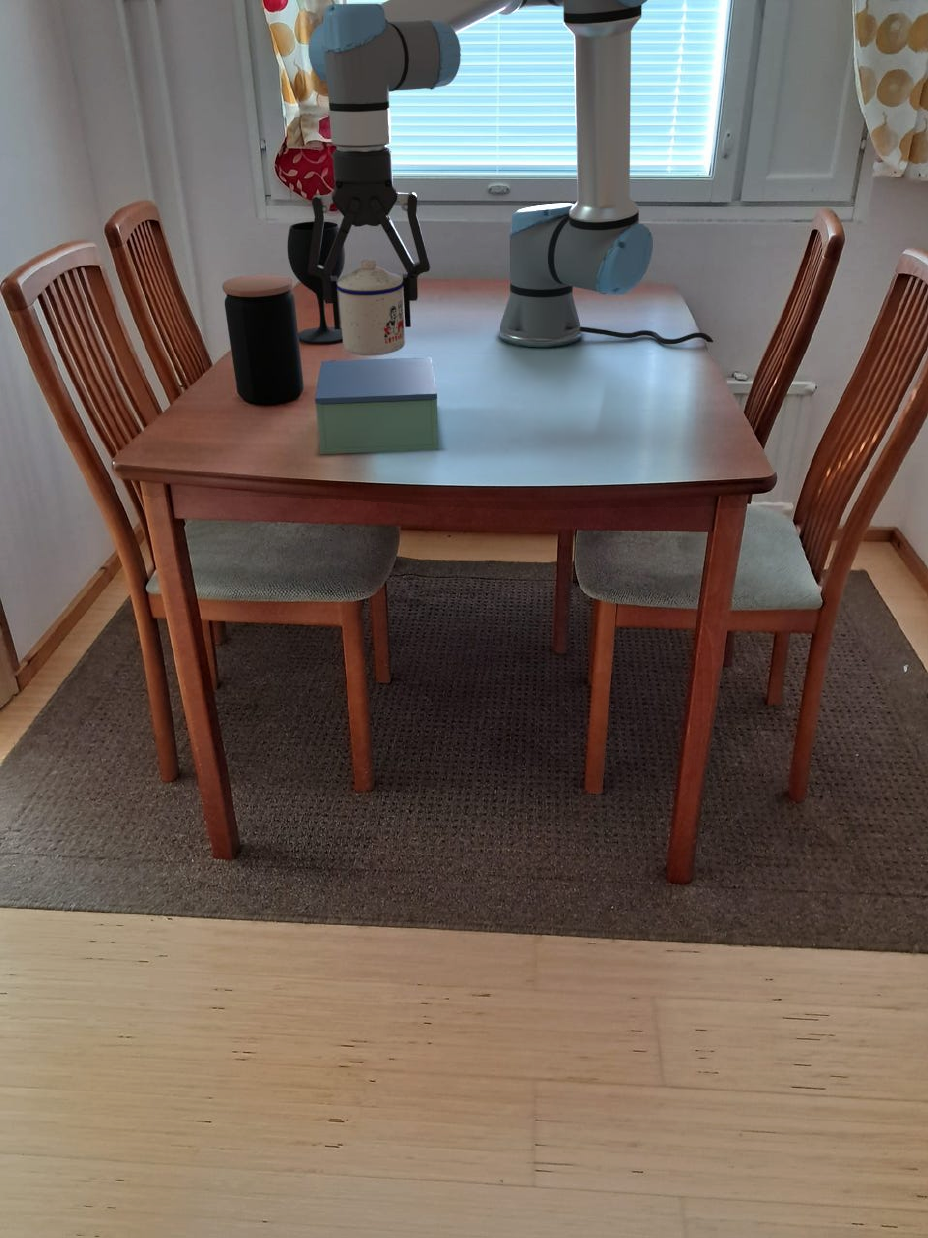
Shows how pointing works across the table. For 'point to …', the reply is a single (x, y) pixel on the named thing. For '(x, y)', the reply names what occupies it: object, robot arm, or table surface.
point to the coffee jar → (264, 339)
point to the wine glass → (299, 264)
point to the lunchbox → (378, 426)
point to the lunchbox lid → (376, 380)
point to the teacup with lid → (371, 310)
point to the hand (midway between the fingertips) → (372, 325)
